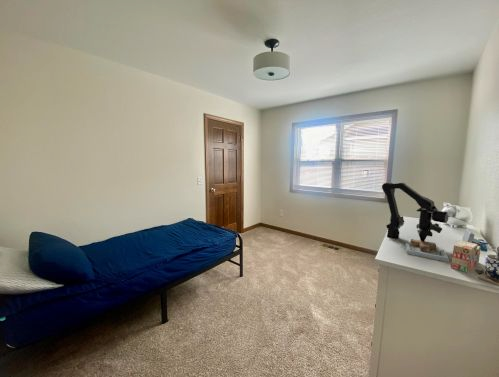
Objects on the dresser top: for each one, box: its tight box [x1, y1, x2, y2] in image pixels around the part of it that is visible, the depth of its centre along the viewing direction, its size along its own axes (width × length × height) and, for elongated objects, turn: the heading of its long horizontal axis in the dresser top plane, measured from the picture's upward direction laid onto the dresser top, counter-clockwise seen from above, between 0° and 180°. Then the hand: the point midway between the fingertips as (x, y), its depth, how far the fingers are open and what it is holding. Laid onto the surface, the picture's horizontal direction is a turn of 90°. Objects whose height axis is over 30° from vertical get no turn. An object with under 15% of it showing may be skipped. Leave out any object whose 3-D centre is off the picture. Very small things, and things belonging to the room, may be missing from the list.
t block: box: [410, 238, 437, 253], centre depth 131 cm, size 12×12×3 cm
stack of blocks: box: [450, 240, 482, 274], centre depth 109 cm, size 21×6×12 cm, turn 123°
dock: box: [405, 242, 450, 263], centre depth 123 cm, size 18×14×2 cm
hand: (422, 242), depth 136 cm, fingers closed
